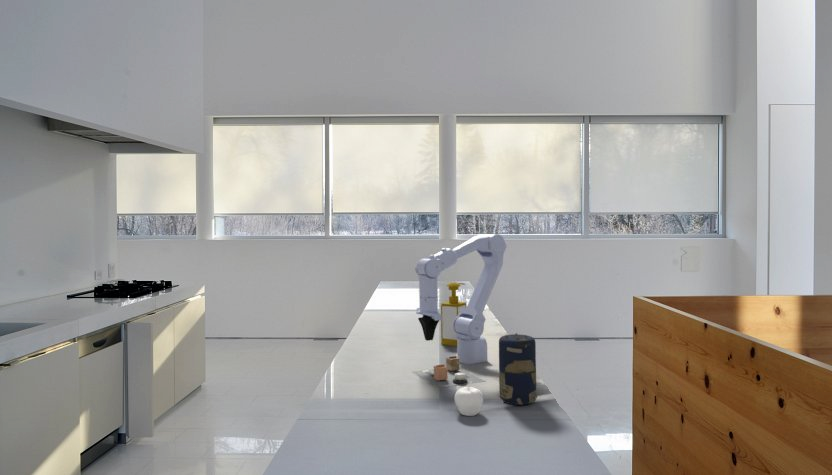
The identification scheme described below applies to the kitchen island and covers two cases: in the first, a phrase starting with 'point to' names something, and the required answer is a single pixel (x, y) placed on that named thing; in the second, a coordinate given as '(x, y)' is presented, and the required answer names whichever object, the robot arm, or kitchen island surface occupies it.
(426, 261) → the robot arm
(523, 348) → the canister
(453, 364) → the oak knob
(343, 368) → the kitchen island surface
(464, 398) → the plain white apple
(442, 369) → the terracotta knob
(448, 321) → the soap bottle
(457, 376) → the button
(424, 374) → the panel
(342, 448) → the kitchen island surface
